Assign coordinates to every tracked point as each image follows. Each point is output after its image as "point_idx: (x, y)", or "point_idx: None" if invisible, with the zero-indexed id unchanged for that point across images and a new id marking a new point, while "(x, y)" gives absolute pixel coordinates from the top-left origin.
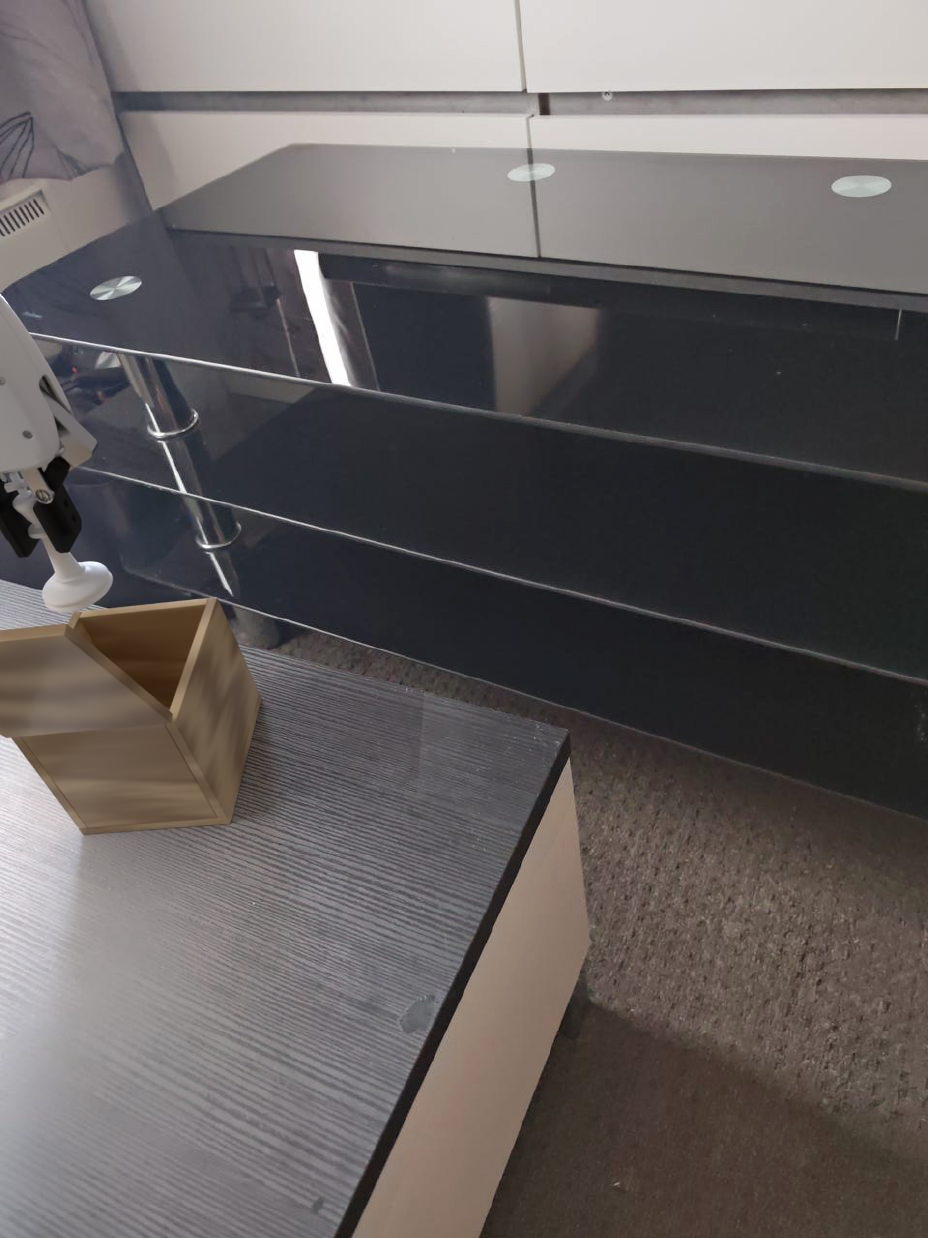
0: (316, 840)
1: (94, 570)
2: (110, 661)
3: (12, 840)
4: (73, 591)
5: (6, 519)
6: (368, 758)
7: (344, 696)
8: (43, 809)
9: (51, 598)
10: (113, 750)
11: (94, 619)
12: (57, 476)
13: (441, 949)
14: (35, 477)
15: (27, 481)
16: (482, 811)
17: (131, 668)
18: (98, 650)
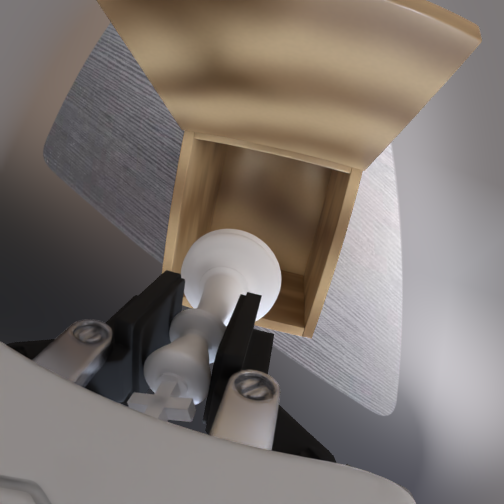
0: (165, 107)
1: (195, 291)
2: (133, 54)
3: (394, 178)
4: (219, 252)
5: (222, 339)
6: (128, 168)
7: (142, 232)
8: (374, 200)
9: (257, 254)
10: None
11: (289, 322)
12: (36, 351)
13: (112, 32)
14: (53, 359)
15: (80, 364)
16: (76, 113)
17: (284, 290)
18: (120, 36)
